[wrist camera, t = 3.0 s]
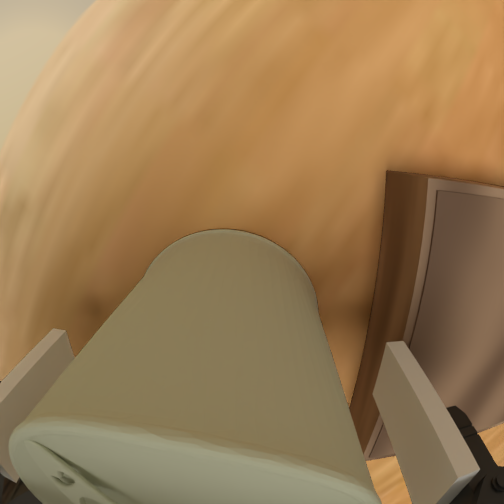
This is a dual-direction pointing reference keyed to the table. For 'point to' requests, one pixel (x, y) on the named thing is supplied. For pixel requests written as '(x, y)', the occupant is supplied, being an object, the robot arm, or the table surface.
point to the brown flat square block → (438, 299)
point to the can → (201, 392)
